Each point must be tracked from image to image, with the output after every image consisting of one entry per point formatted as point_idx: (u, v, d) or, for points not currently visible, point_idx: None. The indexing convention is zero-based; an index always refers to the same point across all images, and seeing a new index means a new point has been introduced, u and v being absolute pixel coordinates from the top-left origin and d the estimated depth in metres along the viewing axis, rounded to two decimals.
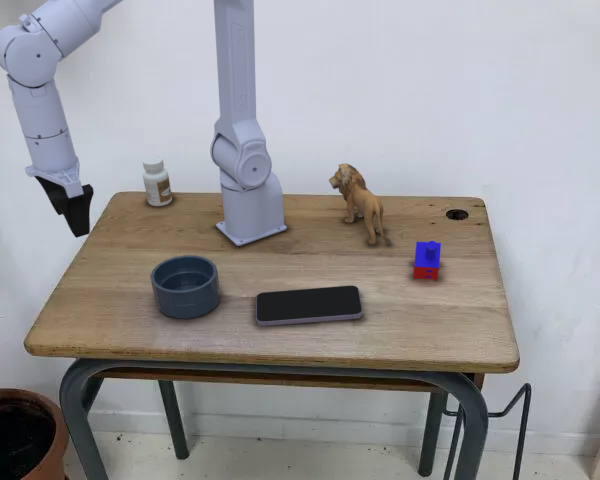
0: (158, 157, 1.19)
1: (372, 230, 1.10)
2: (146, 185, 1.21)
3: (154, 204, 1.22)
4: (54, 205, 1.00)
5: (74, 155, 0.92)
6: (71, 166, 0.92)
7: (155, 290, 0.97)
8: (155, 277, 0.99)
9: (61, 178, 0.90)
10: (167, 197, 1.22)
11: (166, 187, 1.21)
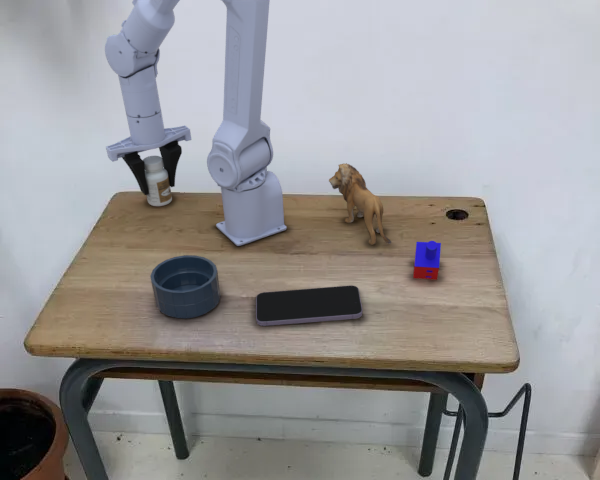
0: (158, 157, 1.19)
1: (372, 230, 1.10)
2: None
3: (154, 204, 1.22)
4: None
5: (145, 139, 1.14)
6: (137, 144, 1.14)
7: (155, 290, 0.97)
8: (155, 277, 0.99)
9: (120, 144, 1.15)
10: (167, 197, 1.22)
11: (166, 187, 1.21)
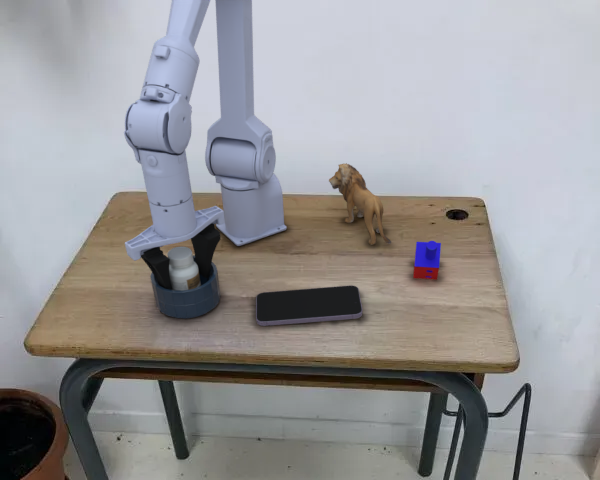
0: (186, 248, 0.97)
1: (372, 230, 1.10)
2: (173, 283, 0.97)
3: None
4: (196, 262, 1.00)
5: (174, 231, 0.90)
6: (164, 236, 0.91)
7: (155, 290, 0.97)
8: None
9: (142, 237, 0.91)
10: None
11: (197, 283, 0.98)
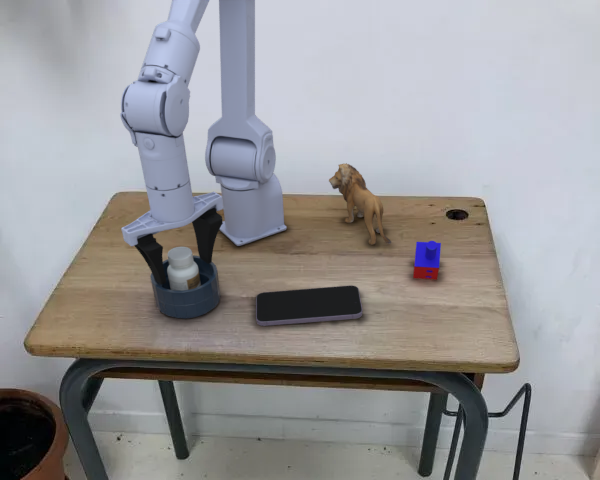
0: (186, 248, 0.97)
1: (372, 230, 1.10)
2: (173, 283, 0.97)
3: None
4: (198, 248, 0.99)
5: (172, 216, 0.89)
6: (161, 222, 0.90)
7: (155, 290, 0.97)
8: None
9: (139, 223, 0.90)
10: None
11: (197, 283, 0.98)
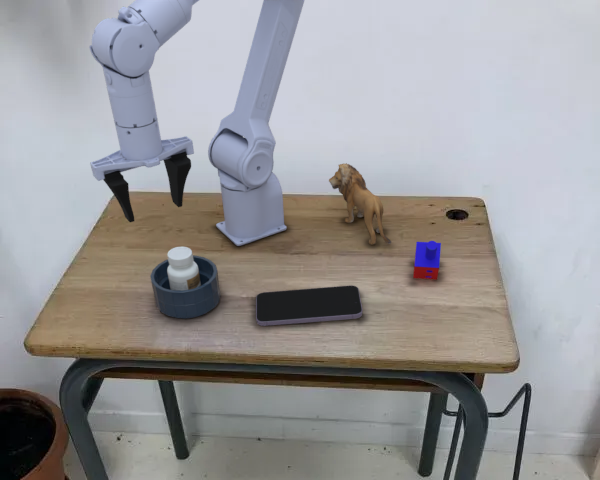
0: (186, 248, 0.97)
1: (372, 230, 1.10)
2: (173, 283, 0.97)
3: None
4: None
5: None
6: None
7: (155, 290, 0.97)
8: (155, 277, 0.99)
9: None
10: None
11: (197, 283, 0.98)
